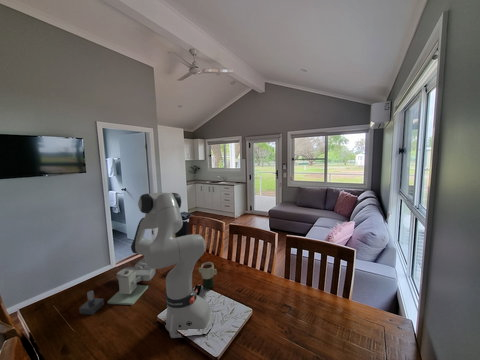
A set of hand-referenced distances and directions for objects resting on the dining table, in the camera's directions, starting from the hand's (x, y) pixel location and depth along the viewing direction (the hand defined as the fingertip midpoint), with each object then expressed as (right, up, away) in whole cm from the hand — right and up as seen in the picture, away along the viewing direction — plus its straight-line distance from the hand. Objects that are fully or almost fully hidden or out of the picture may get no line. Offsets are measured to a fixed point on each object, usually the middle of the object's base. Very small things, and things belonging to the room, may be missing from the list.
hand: (126, 282), depth 108 cm
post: (-13, -9, -8) cm, 17 cm away
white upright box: (0, -5, +1) cm, 5 cm away
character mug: (+43, -6, +7) cm, 44 cm away
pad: (0, -8, +2) cm, 8 cm away
